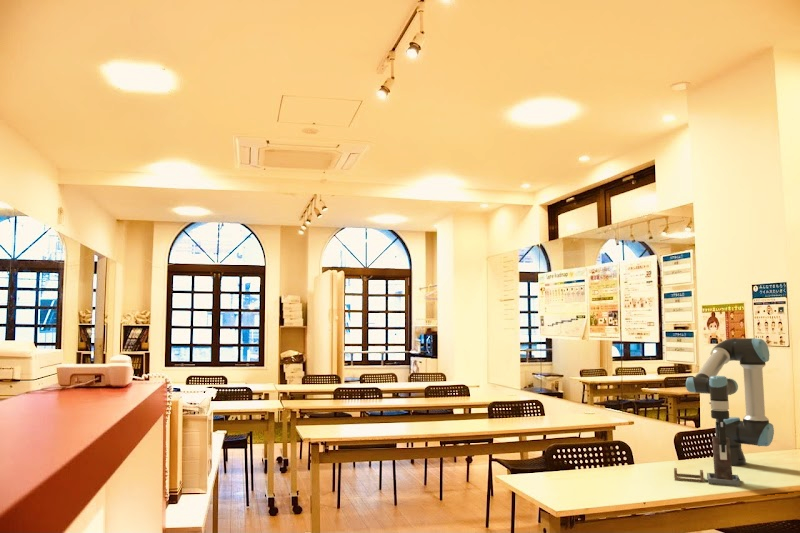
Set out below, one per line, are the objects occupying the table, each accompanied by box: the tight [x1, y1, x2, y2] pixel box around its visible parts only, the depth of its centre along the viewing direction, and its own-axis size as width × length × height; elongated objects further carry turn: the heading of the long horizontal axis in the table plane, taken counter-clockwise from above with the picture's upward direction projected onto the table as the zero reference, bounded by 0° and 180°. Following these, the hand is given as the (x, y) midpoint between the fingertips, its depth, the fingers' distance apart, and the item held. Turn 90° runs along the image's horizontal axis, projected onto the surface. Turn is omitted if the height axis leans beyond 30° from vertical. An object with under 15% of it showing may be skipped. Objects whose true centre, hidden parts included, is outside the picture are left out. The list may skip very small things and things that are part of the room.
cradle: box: [673, 467, 705, 483], centre depth 301 cm, size 10×12×4 cm
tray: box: [706, 472, 742, 487], centre depth 294 cm, size 13×13×2 cm
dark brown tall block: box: [711, 436, 733, 480], centre depth 295 cm, size 8×7×20 cm
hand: (722, 456), depth 295 cm, fingers open, 13 cm apart
